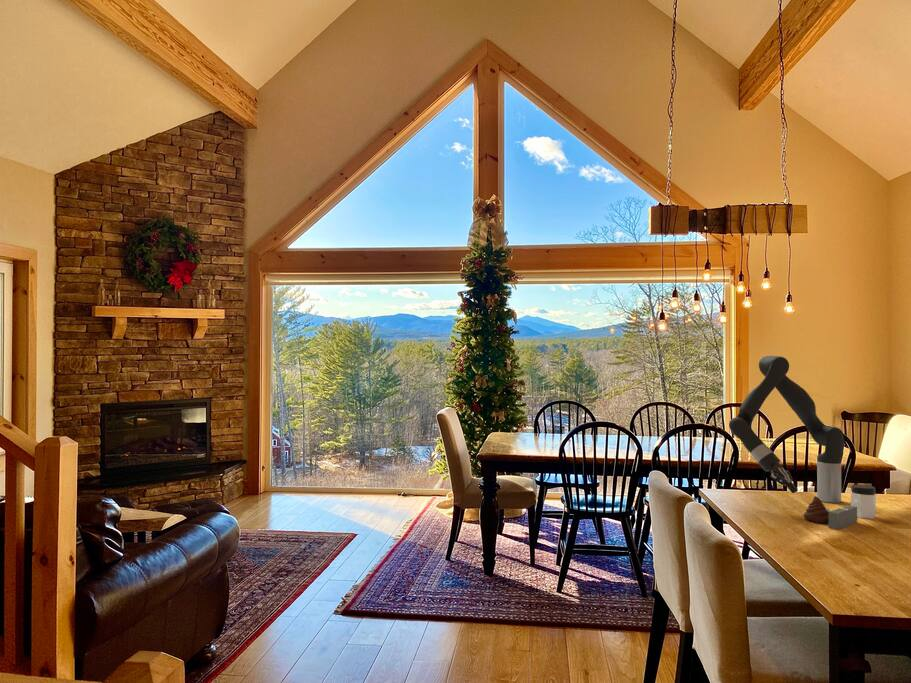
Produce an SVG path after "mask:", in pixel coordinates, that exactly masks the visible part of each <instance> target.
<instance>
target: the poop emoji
mask: <svg viewBox="0 0 911 683" xmlns="http://www.w3.org/2000/svg"><path fill="white" fill-rule="evenodd" d="M830 511H831V510H830V508H829V507H826V506H825V505H824V503H823V501H821V500H820V499H819V498H818V497H817V496H813V499H812V501H811V502H810V503H809V504H808V507H806V509H805V512H804V513H803V519H804V520H806V521H811V522H813V523H816V524H822V525H823V524H824V525H825V524H828V525H829V512H830Z"/></svg>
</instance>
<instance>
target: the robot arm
mask: <svg viewBox="0 0 911 683" xmlns="http://www.w3.org/2000/svg"><path fill="white" fill-rule="evenodd" d="M758 368H759V371H760V372H761V374H762V375H763V376H764V378H763V380H762V381H760V383H759V384H758V385H757V386H756V387H755V388H753V389H752V390H751V391H750V392H749V393H747V396H746V397H745V398H744V400H743V402H742V404H741V405H740V407H739V410H738V414H737V415H736V416H735V417H733V418H732V419H730V420H729V423H728V427H729V429H730V432H731V433H732V435H734V436H735V437H737V438H738V440H739V441H741V443H742V445H743V446H744V448H745V449H746V450H747V451H748V453H749V454H750V455H751V456H752V458H753V459H754V460H755V461H756V463H758V465H759V466H760V467H761V469H762V470H764V471H765V472H769V473H770V474H771V475H769V477H770V478H771V479H772V480H773V481H775V482H776V483H778V484H779V485H781V486H785V487H787V489H788V490H789V491H790V492H791V493H792V494H795V493H797V492H798V491H799V489H798V488H797V486H795V484H794V483H793V481H794V479H793V477H792V474H791V472H790V470H789V469H786V470H785V468H784V467H783V466H782V465H780V463H781V459H780V458H779V457H778V456H777V455H776V454H775V452H773V451H772V450H771V448H770V447H769V446H768V445H767V444H765V442H763V440H762V439H761V438H760V437H759V436H758V435H757V433H755V431H754V430H753V429H752V428H751V426H752V423H753V421H754V419H755V417H756V415H757V414H758V413H759V410H760V409H761V407H762V405H763V404H764V402H765V401H766V399H767V398H768V397H769V396H770V394H771V393H772V392H773V390H774V389H776V390H777V391H778V393H779V394H780V395H781V397H782V398H783V399H784V400H785V402H786V403H787V404H788V406H789V407H790V409H791V410H792V411H793V412H794V413H795V414H796V416H797V417H798V418H799V420H800V421H801V423H803V425H804V426H805V428H806V429H807V431H808V432H809V434H810V436H811V438H812V439H813V441H814V442H815V443H816V444H818V445H819V446H823V447H824V451H823V452H822V453H819V454H817V458H816V459H817V462H816V466H817V467H816V468H817V469H816V475H817V476H816V477H817V479H816V480H817V481H816V482H817V483H816V489H817V492H816V497H818V498H819V499H820V500H821V502H825V503H832V504H833V503H834V504H835V503H836V504H837V503H841V502H842V459H843V456H844V448H845V436H844V433H843V431H842V429H841V428H839V427H836V426H830V425H826V424H824V423H823V422H822V421H821V419H820V418H819V416H818V415H817V409H816V403H815V401H814V400H813V398H812V396H810V394H809V393H808V392H807V391H806V390H805V388H803V387H802V386H800V385H799V384H797V382H795V381H793V379H790V378H789V377H788V376H787V373H788V372H789V370H790V363H789V361H788V359H787V358H786V357H784V356H781V355H780V356H777V355H776V356H775V355H765V356H763V357H762V358H760V360H759V362H758Z"/></svg>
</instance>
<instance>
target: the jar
mask: <svg viewBox="0 0 911 683" xmlns="http://www.w3.org/2000/svg"><path fill="white" fill-rule="evenodd" d="M850 488H851V491H850V506H855V507H857V518H860V519H869V520H874V519H875V518H876V516H877V514H876V513H877V506H876V505H877V496H876V495H877V494H876V487H875V486H872V485H867V484H852V485H851V487H850Z"/></svg>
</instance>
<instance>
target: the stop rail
mask: <svg viewBox="0 0 911 683" xmlns="http://www.w3.org/2000/svg"><path fill="white" fill-rule="evenodd" d="M857 523H858V517H857V507H855V506H851V505H846V506H843V507H838V508H836V509H834V510H830V512H829V523H828V528H829V529H833V530H836V531H838V530H840V529H843V528H846V527H848V526H852V525H855V524H857Z"/></svg>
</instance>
